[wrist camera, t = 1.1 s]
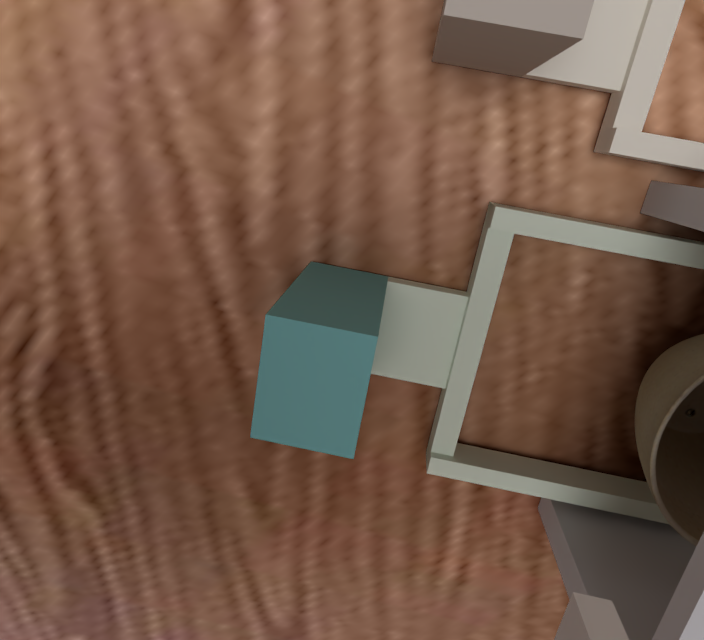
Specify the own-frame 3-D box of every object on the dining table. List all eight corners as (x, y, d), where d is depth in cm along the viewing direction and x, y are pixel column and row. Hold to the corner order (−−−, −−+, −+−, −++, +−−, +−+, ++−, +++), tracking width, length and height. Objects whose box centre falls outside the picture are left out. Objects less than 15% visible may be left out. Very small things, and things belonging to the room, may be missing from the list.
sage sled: (286, 423, 30) (238, 532, 22) (324, 171, 26) (282, 184, 17) (788, 528, 29) (945, 687, 21) (921, 282, 24) (1192, 356, 16)
